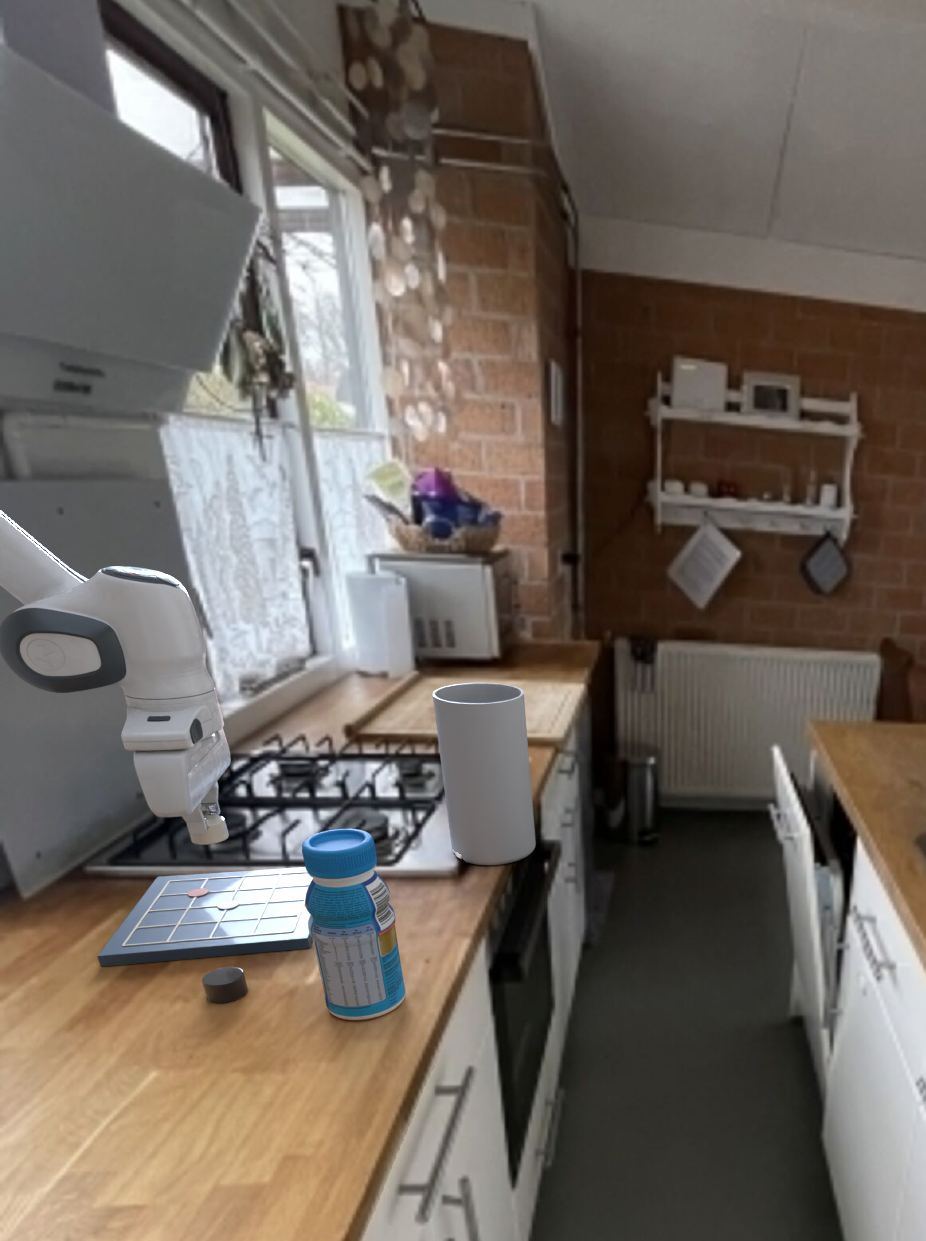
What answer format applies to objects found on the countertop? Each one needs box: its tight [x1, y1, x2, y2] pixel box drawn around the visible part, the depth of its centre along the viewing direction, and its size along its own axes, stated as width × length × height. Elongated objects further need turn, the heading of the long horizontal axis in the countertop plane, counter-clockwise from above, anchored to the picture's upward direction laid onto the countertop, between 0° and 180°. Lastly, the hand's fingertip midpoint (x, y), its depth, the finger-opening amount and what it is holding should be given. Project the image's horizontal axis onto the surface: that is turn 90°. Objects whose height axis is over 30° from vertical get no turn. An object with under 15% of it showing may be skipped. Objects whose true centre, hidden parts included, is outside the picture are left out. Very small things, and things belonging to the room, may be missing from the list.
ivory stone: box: [186, 815, 229, 846], centre depth 109 cm, size 4×4×2 cm
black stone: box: [201, 966, 249, 1004], centre depth 99 cm, size 4×4×2 cm
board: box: [97, 866, 313, 968], centre depth 115 cm, size 22×22×2 cm
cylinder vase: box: [432, 682, 537, 866], centre depth 133 cm, size 12×12×25 cm
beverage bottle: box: [301, 828, 407, 1021], centre depth 95 cm, size 8×8×20 cm
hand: (205, 824), depth 109 cm, fingers closed on ivory stone, 4 cm apart
